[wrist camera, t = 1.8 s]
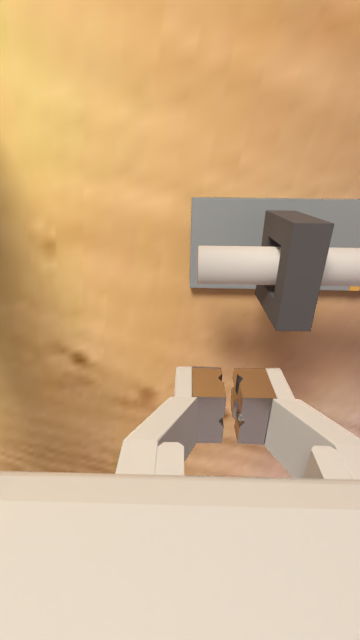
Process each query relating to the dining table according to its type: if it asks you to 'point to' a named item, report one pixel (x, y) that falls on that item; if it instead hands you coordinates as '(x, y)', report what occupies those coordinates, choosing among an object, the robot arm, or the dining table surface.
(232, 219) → the pipe stand
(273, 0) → the dining table surface
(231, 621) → the robot arm
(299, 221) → the grey rectangular frame
